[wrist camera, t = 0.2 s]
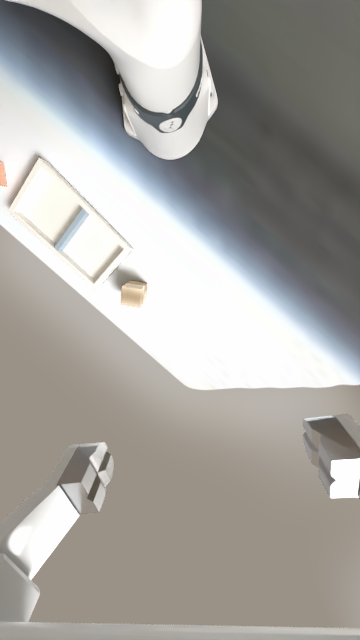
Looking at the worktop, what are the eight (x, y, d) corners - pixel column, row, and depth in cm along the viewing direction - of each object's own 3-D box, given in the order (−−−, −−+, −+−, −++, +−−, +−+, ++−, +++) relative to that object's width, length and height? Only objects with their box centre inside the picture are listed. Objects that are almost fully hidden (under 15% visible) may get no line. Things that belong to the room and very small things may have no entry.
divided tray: (18, 212, 50) (7, 211, 47) (48, 162, 46) (39, 157, 43) (99, 287, 55) (94, 289, 53) (133, 248, 51) (129, 249, 48)
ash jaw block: (130, 280, 54) (121, 286, 48) (147, 283, 54) (140, 289, 48) (129, 296, 56) (120, 304, 49) (145, 299, 56) (139, 307, 49)
